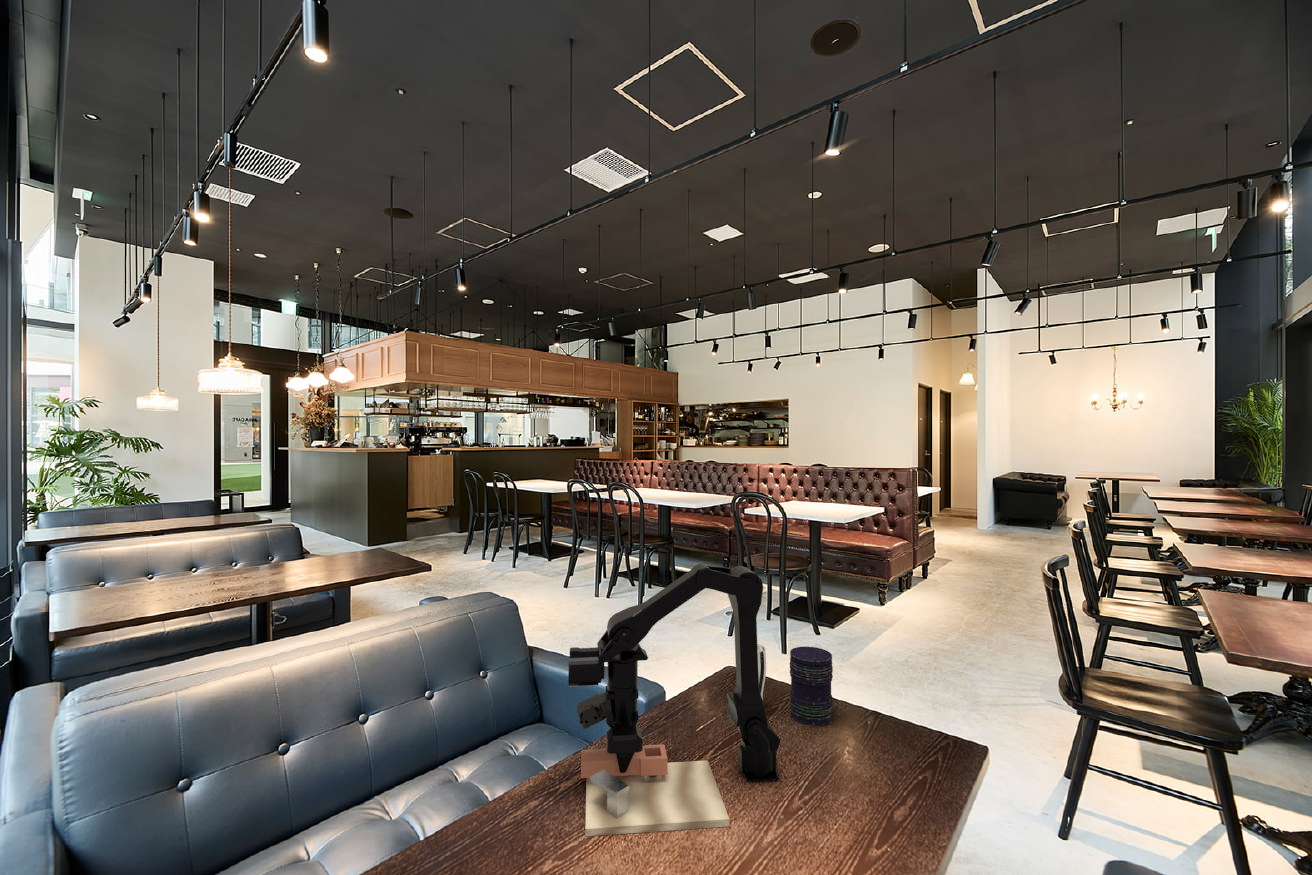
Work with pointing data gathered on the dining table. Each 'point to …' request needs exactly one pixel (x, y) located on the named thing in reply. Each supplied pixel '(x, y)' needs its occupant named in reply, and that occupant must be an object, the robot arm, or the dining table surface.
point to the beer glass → (761, 667)
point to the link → (642, 764)
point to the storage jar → (811, 686)
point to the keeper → (613, 792)
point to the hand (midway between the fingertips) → (622, 765)
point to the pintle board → (660, 802)
